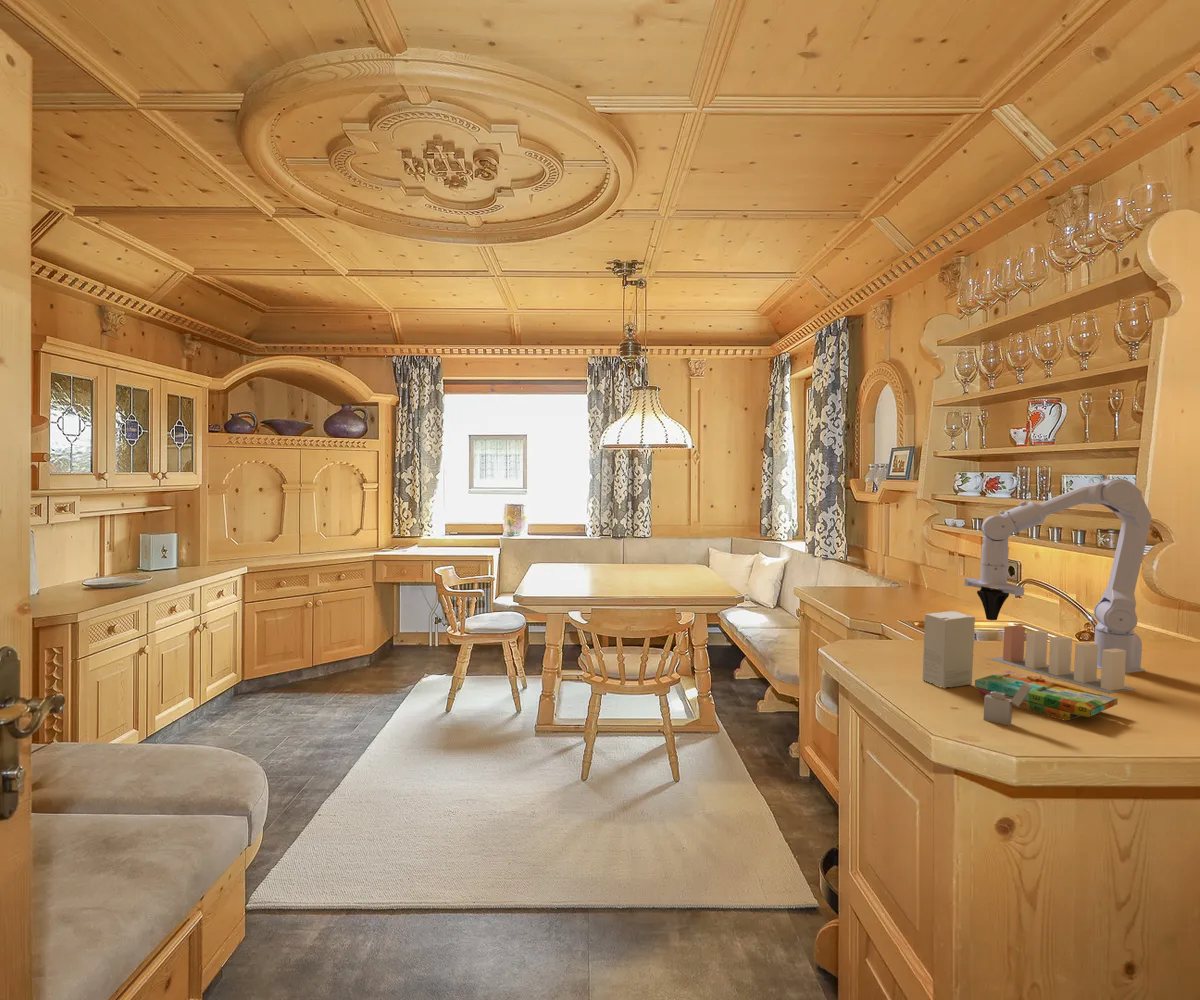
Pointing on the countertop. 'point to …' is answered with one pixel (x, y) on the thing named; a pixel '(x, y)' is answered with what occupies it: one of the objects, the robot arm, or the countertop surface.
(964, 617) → the skincare box
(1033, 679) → the puzzle game
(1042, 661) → the domino
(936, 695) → the countertop surface
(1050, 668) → the domino
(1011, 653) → the domino
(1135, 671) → the robot arm
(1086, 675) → the domino
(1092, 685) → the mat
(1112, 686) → the domino
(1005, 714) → the lighter
